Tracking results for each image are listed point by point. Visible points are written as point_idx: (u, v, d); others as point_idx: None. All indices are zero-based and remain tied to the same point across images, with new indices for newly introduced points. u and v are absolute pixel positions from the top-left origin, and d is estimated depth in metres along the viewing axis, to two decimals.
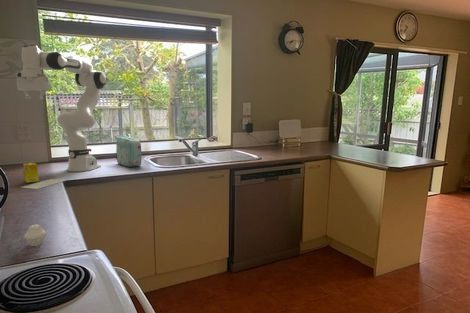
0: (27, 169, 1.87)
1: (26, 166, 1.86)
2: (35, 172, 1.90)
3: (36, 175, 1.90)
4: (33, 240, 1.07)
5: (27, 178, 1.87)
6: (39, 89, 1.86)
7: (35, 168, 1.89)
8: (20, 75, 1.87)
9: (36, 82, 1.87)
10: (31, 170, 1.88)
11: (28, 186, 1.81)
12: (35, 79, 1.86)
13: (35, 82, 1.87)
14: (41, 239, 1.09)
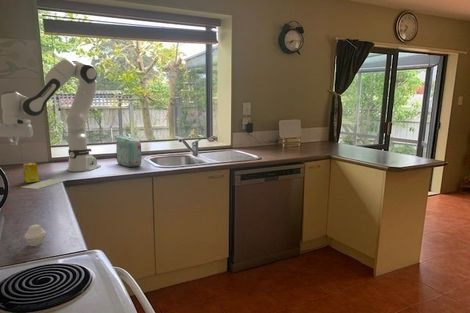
0: (27, 169, 1.87)
1: (26, 166, 1.86)
2: (35, 172, 1.90)
3: (36, 175, 1.90)
4: (33, 240, 1.07)
5: (27, 178, 1.87)
6: None
7: (35, 168, 1.89)
8: None
9: None
10: (31, 170, 1.88)
11: (28, 186, 1.81)
12: None
13: None
14: (41, 239, 1.09)
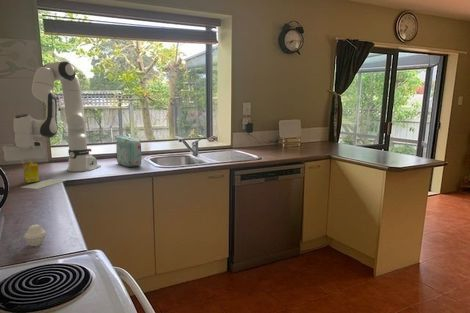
0: (28, 170, 1.85)
1: (27, 167, 1.85)
2: (36, 173, 1.89)
3: (36, 175, 1.90)
4: (33, 240, 1.07)
5: (27, 178, 1.87)
6: None
7: (36, 169, 1.88)
8: None
9: None
10: (32, 171, 1.87)
11: (28, 186, 1.81)
12: None
13: None
14: (41, 239, 1.09)
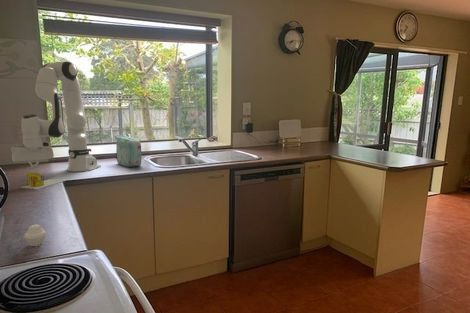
0: None
1: (33, 186, 1.81)
2: None
3: None
4: (33, 240, 1.07)
5: None
6: None
7: None
8: None
9: None
10: None
11: (28, 186, 1.81)
12: None
13: None
14: (41, 239, 1.09)
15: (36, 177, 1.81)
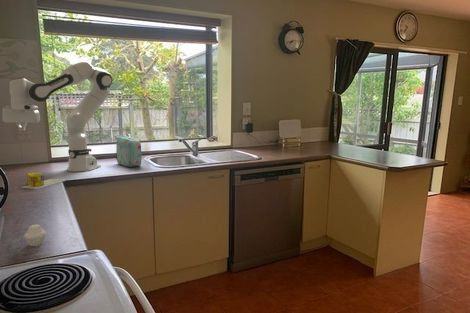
0: None
1: (33, 186, 1.81)
2: None
3: None
4: (33, 240, 1.07)
5: None
6: None
7: None
8: None
9: None
10: None
11: (28, 186, 1.81)
12: None
13: None
14: (41, 239, 1.09)
15: (36, 177, 1.81)
